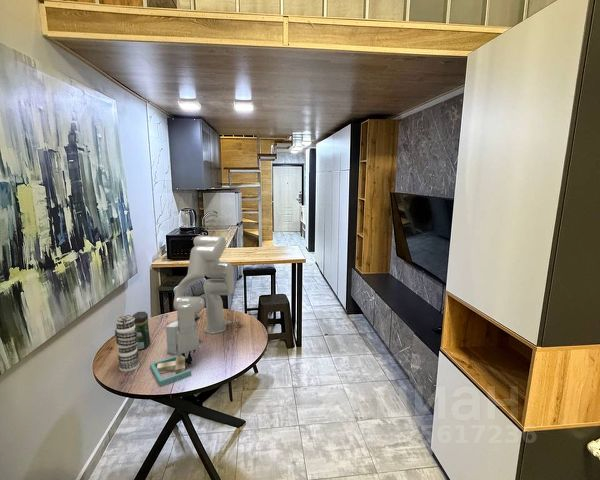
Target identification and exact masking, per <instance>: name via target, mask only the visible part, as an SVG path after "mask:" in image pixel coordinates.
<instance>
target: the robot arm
mask: <svg viewBox="0 0 600 480" xmlns="http://www.w3.org/2000/svg"><path fill="white" fill-rule="evenodd" d="M193 245H194V246H193V247H192V248H191V249H190V255H189V260H188V267H187V274H186V276H185V277H183V279H182V280H180V283H179V284H178V285H177V287H176V289H175V292H174V298H173V308H174V310H175V311H176V312H177V314H176V316H177V321H178V331H177V333H176V351H177V354H175V356H184V357H185V365H187V366H190V365H192V363H193V357H194V355H195V353H196V352H197V351H199V350H200V338H199V334H198V329H197V327H198V326H199V324H198V322H196V320H195V316H194V315H195V314H196V313H198V312H199V313H200V312H202V310H203V309H204V308H205V307H206V309H205V310H206V326H205V328H204V332H205V333H206V334H210V335H216V334H221V333H224V331H226V329H227V325H230V324H232V321H231V320H227V319H225V320H224V306H223V304H224V303H223V300H222V297H221V296H230V295H233V293H234V291H235V290H234V289H235V281H234V271H233V270H234V269H233V265H232V263H231V262H229V261H220V258H221V257H222V256H223V254H224V251H225V250H226V247H227V241H226V238H225V237H224V236H222V235H197V236H195V237H194V238H193ZM205 277H207V279H206V280H205V281H204V282H203V292H204V295H205V296H204V297H205V299H204V297H201V296H187V295H185V296H184V293H185V291H186V289H187V288H188V287H189V286H190V285H192V284H193V283H194V284H195V283H196V282H198V281H200V280H203V279H204V278H205Z"/></svg>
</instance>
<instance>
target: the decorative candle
mask: <svg viewBox="0 0 600 480" xmlns="http://www.w3.org/2000/svg"><path fill="white" fill-rule="evenodd" d="M132 316H133V315H129V314H128V315H122V316H120V317H118V318H117V319H116V320H115V323H116V324H115V326H116V327H115V329H114V335H115V340H116V346H117V348H118V354H117V357H118V359H117V360H118V368H119V371H121V372H131V371H134V370H135V369H137V368H139V366H140V358H139V350H137V347H136V343H137V337H135V336H137V333H136V332H137V330H135V328H136V327H137V326H135V324H134V320H135V318H134V317H132Z"/></svg>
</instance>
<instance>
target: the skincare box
mask: <svg viewBox="0 0 600 480" xmlns="http://www.w3.org/2000/svg"><path fill="white" fill-rule="evenodd" d="M177 331H178V320H174V321H173V322H170V323H169V324H168V325H167V324H166V326H165V333H166V335H165V336H166V348H167V353H168V354H173V355H176V354H177V351H176V333H177Z"/></svg>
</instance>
